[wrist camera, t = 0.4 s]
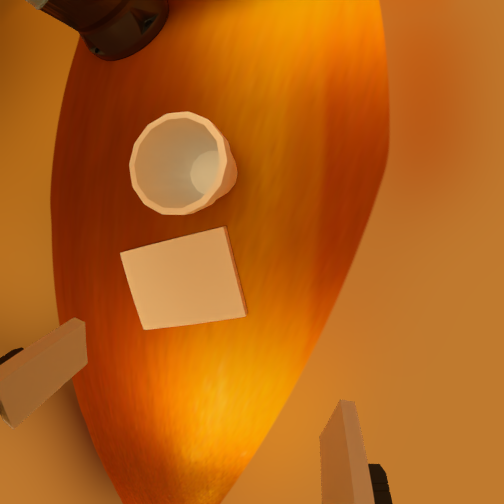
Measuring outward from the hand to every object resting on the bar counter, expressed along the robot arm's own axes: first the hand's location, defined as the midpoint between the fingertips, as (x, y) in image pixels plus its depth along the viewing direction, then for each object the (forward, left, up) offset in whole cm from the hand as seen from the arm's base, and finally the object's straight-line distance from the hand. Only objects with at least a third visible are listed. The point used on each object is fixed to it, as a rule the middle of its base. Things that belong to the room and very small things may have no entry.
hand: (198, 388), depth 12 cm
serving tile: (0, -11, -26) cm, 28 cm away
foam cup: (-13, -3, -26) cm, 30 cm away
